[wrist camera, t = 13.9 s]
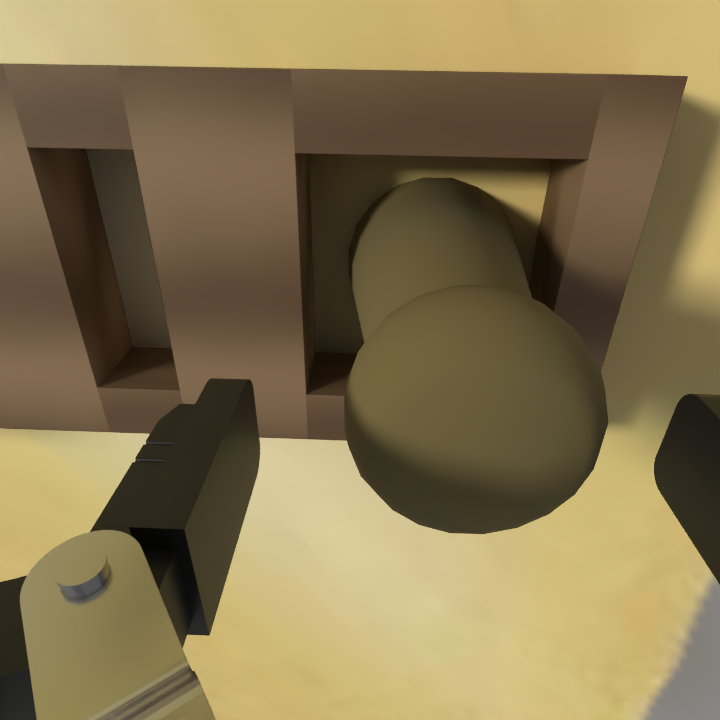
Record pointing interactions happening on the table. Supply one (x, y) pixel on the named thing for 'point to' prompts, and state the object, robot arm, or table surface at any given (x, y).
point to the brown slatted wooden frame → (276, 220)
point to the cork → (463, 368)
